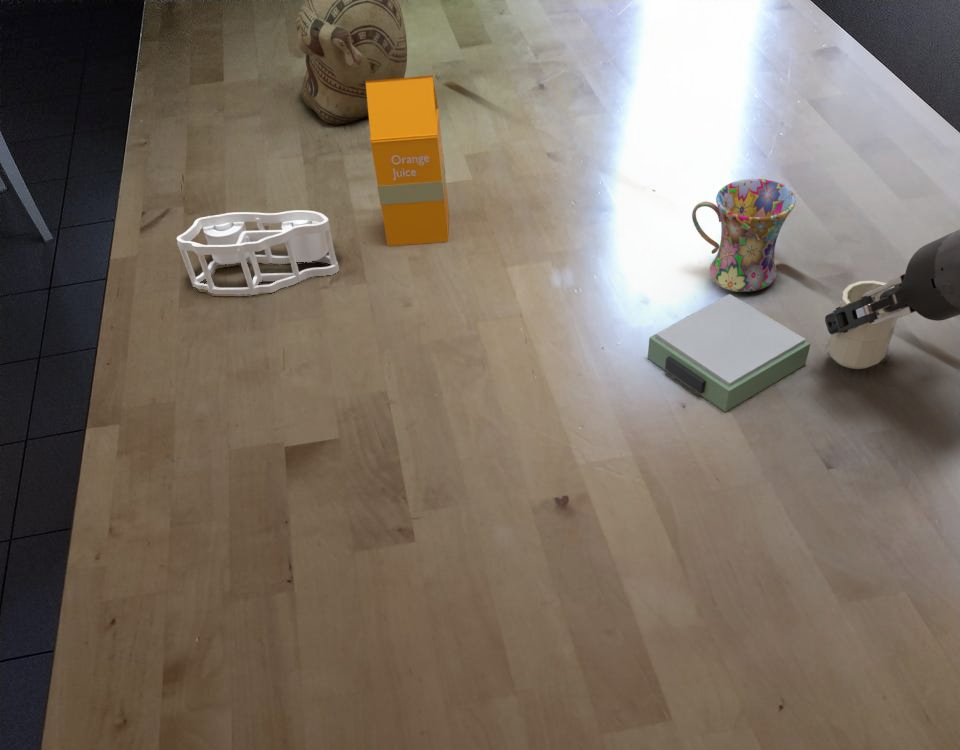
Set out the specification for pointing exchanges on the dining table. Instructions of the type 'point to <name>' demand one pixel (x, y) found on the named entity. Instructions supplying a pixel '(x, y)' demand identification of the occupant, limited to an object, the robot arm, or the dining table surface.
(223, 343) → the dining table surface
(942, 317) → the robot arm
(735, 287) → the mug
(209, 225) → the white lattice frame
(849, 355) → the pen cup
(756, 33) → the dining table surface
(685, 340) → the scale
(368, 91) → the orange juice
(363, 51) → the ceramic vessel
